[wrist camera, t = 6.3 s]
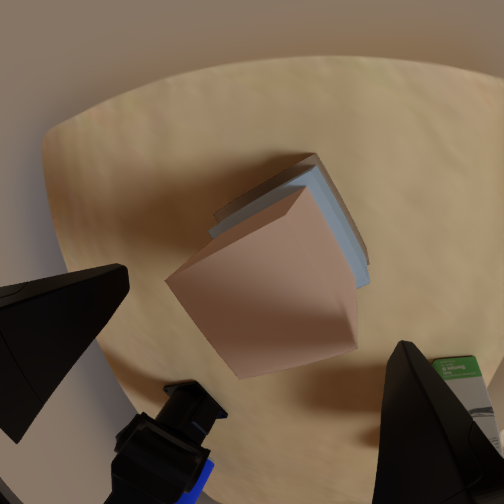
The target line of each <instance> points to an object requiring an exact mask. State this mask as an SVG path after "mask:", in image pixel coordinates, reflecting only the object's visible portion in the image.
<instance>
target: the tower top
mask: <svg viewBox="0 0 504 504" xmlns="http://www.w3.org/2000/svg"><path fill="white" fill-rule="evenodd" d="M306 186H307V187H308V189H309V191H310V192H311V194H312V196H313V198H314V199H315V201H316V203H317V205H318V207H319V208H320V210H321V212H322V214H323V216H324V217H325V219H326V221H327V223H328V225H329V227H330V229H331V231H332V232H333V234H334V236H335V238H336V240H337V242H338V244H339V246H340V248H341V250H342V252H343V254H344V256H345V258H346V260H347V262H348V264H349V266H350V268H351V270H352V272H353V274H354V276H355V278H356V289H358V288H360V287H362V286H365V285H367V284H369V283H370V280H369V274H368V267H367V261H366V257H365V255H364V253H363V251H362V249H361V247H360V245H359V243H358V241H357V239H356V237H355V235H354V233H353V231H352V229H351V227H350V225H349V223H348V221H347V219H346V217H345V215H344V213H343V211H342V210H341V208H340V206H339V204H338V202H337V200H336V199H335V197H334V195H333V193H332V191H331V190H330V188H329V186H328V184H327V182H326V181H325V179H324V177H323V176H322V174H321V172H320V170H319V169H318V167H317V165H315V166H314V167H312V168H310V169H308V170H306V171H305V172H303V173H301V174H299V175H298V176H296V177H294V178H292V179H290V180H289V181H287V182H285V183H284V184H282V185H280V186H278V187H277V188H275V189H273V190H271V191H270V192H268V193H266V194H265V195H263V196H261V197H260V198H258V199H256V200H254V201H253V202H251V203H249V204H248V205H246V206H244V207H243V208H241V209H239V210H238V211H236V212H235V213H233V214H231V215H230V216H228V217H227V218H225V219H224V220H223V221H221V222H220V223H218V224H217V225H216V226H214V227H213V228H211V229H210V230H209V231H208V233H209V234H210V236H211V237H212V239H215V238H216V237H217V236H218V235H220V234H221V233H223V232H225V231H227V230H228V229H230V228H232V227H234V226H235V225H237V224H239V223H241V222H242V221H244V220H246V219H248V218H249V217H251V216H253V215H255V214H257V213H258V212H260V211H262V210H264V209H265V208H267V207H269V206H271V205H273V204H274V203H276V202H278V201H280V200H282V199H284V198H285V197H287V196H289V195H291V194H293V193H295V192H296V191H298V190H300V189H302V188H304V187H306Z"/></svg>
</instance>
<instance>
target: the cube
mask: <svg viewBox="0 0 504 504" xmlns="http://www.w3.org/2000/svg"><path fill="white" fill-rule="evenodd" d="M165 282H166V283H167V285H168V286H169V288H170V289H171V291H172V292H173V293H174V295H175V296H176V298H177V299H178V301H179V302H180V303H181V305H182V306H183V308H184V309H185V310H186V312H187V313H188V315H189V316H190V317H191V319H192V320H193V321H194V323H195V324H196V325H197V327H198V328H199V329H200V331H201V332H202V333H203V335H204V336H205V337H206V339H207V340H208V341H209V343H210V344H211V345H212V346H213V348H214V349H215V350H216V352H217V353H218V354H219V355H220V357H221V358H222V359H223V360H224V362H225V363H226V364H227V365H228V367H229V368H230V369H231V370H232V371H233V373H234V374H235V375H236V376H237V378H238V379H244V378H250V377H255V376H259V375H264V374H269V373H273V372H278V371H282V370H286V369H290V368H294V367H298V366H302V365H306V364H310V363H313V362H317V361H321V360H324V359H328V358H331V357H334V356H338V355H341V354H344V353H347V352H350V351H353V350H356V349H358V312H357V289H356V278H355V276H354V274H353V272H352V270H351V268H350V266H349V264H348V262H347V260H346V258H345V256H344V254H343V252H342V250H341V248H340V246H339V244H338V242H337V240H336V238H335V236H334V234H333V232H332V231H331V229H330V227H329V225H328V223H327V221H326V219H325V217H324V216H323V214H322V212H321V210H320V208H319V207H318V205H317V203H316V201H315V199H314V198H313V196H312V194H311V192H310V191H309V189H308V187H307V186H306V187H304V188H302V189H300V190H298V191H296V192H295V193H293V194H291V195H289V196H287V197H285V198H284V199H282V200H280V201H278V202H276V203H274V204H273V205H271V206H269V207H267V208H265V209H264V210H262V211H260V212H258V213H257V214H255V215H253V216H251V217H249V218H248V219H246V220H244V221H242V222H241V223H239V224H237V225H235V226H234V227H232V228H230V229H228V230H227V231H225V232H223V233H221V234H220V235H218V236H217V237H216V238H215V239H213V240H212V241H211V242H210V243H209V244H207V245H206V246H205V247H204V248H203V249H201V250H200V251H199V252H198V253H197V254H195V255H194V256H193V257H192V258H191V259H189V260H188V261H187V262H186V263H185V264H183V265H182V266H181V267H180V268H179V269H177V270H176V271H175V272H174V273H173V274H172V275H170V276H169V277H168V278H167V279H166V280H165Z"/></svg>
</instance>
